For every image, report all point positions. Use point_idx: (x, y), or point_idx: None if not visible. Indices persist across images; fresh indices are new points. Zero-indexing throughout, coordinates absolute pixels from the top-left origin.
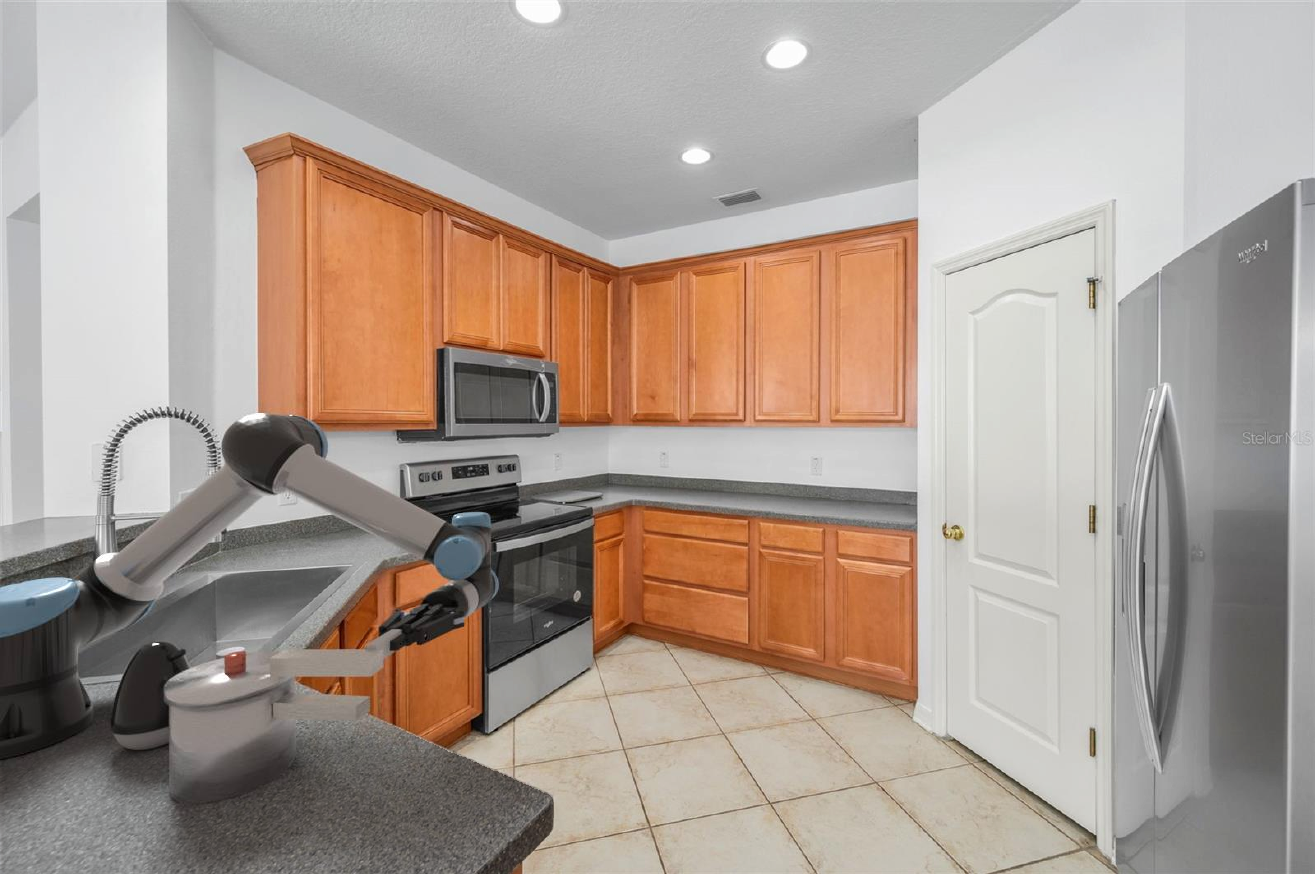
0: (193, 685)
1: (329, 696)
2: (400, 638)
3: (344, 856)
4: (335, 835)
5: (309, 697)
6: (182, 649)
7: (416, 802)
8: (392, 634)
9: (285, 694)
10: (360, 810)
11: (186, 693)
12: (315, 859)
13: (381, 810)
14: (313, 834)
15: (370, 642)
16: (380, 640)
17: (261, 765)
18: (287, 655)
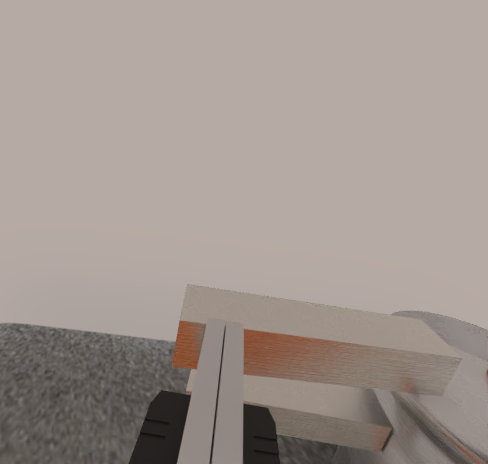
0: (480, 340)
1: (282, 400)
2: (150, 426)
3: (138, 344)
4: (159, 368)
5: (322, 399)
6: None
7: (60, 414)
8: (193, 404)
9: (387, 415)
10: (143, 405)
11: (446, 320)
12: (165, 344)
13: (113, 402)
14: (184, 372)
15: (240, 337)
16: (214, 349)
17: (338, 450)
18: (404, 326)
